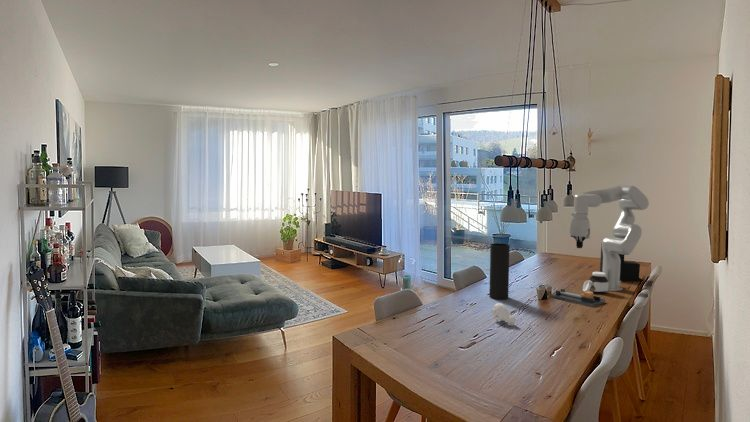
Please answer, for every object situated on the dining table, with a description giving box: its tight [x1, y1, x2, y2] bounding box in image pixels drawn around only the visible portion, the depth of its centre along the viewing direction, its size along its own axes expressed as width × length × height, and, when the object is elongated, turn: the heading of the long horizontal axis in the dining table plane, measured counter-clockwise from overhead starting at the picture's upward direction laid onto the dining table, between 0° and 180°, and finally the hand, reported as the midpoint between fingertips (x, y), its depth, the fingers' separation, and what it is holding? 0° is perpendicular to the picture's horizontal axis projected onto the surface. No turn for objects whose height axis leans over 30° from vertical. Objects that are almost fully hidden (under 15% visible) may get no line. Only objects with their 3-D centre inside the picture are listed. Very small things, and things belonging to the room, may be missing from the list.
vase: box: [488, 242, 511, 301], centre depth 255 cm, size 10×10×30 cm
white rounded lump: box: [491, 302, 516, 327], centre depth 211 cm, size 6×8×12 cm
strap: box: [559, 290, 582, 298], centre depth 254 cm, size 4×14×1 cm, turn 38°
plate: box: [549, 288, 606, 308], centre depth 251 cm, size 14×24×4 cm, turn 38°
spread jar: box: [582, 271, 609, 295], centre depth 267 cm, size 12×11×12 cm
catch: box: [580, 290, 594, 299], centre depth 247 cm, size 5×5×4 cm
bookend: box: [599, 242, 643, 282], centre depth 301 cm, size 23×11×24 cm, turn 78°
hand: (579, 247), depth 261 cm, fingers closed
